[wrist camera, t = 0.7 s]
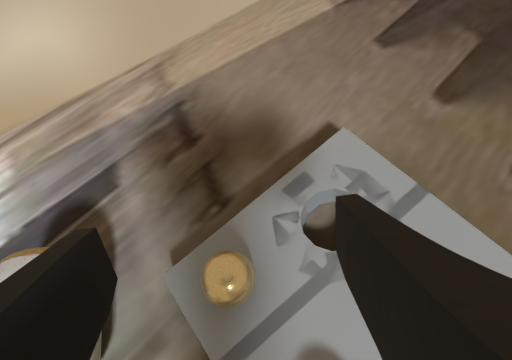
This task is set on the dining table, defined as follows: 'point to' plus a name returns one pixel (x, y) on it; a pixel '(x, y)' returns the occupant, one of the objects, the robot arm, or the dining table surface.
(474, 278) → the robot arm
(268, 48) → the dining table surface
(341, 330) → the bearing plate
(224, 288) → the brass ball
